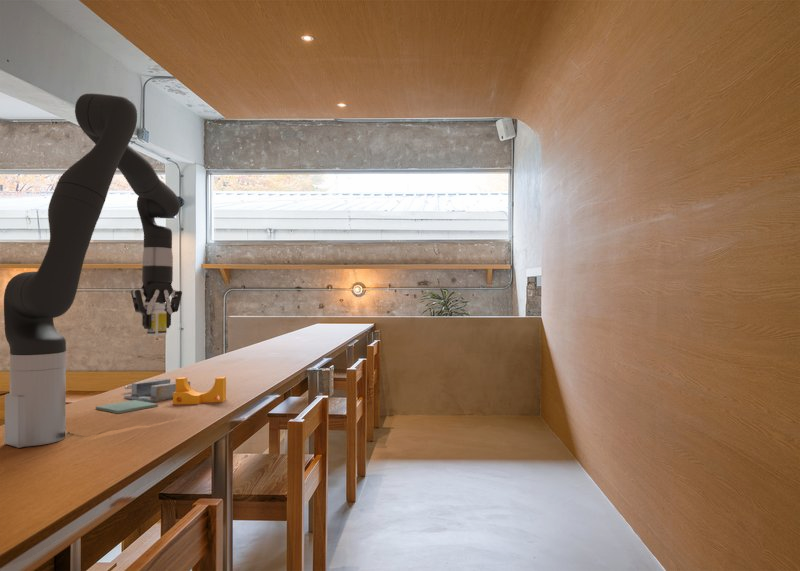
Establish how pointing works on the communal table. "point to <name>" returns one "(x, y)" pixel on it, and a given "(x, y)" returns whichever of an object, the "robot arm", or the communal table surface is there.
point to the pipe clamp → (190, 396)
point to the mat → (126, 406)
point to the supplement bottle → (158, 321)
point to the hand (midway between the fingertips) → (156, 328)
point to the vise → (152, 390)
